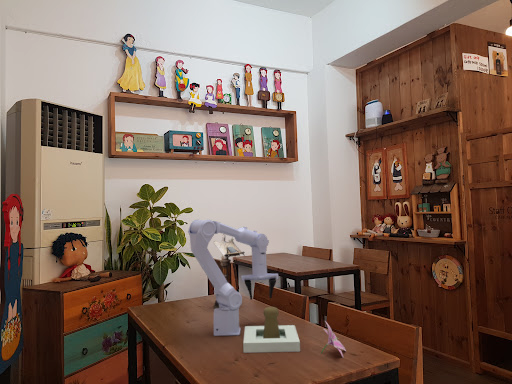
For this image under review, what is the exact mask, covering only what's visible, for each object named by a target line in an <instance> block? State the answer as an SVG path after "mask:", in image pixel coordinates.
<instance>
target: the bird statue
mask: <svg viewBox="0 0 512 384" xmlns="http://www.w3.org/2000/svg"><path fill="white" fill-rule="evenodd" d="M212 244H213V245H214V246H215V247H216V248H217V250H218V251H219V252H220V254H221V257H220V258H221V259H219V262H220V266H221V267H222V274H223V275H224V277H225V279H226V280H227V282H228V283H229V267H230V266H231V261H232V260H231V259H230V257H239V256H240V257H241V255H243V256H245V251H241V249H239V247H238V245H236V243H235V242H234V237H232V236H231V239H228V241H226V235H225V234H222V239H221V242H219V241H216V240H214V241H213V242H212ZM216 308H219V303H218V302H217V301H216V300H215V302H214V304H213V309H212V310H214V309H216Z"/></svg>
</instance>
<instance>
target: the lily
mask: <svg viewBox="0 0 512 384" xmlns="http://www.w3.org/2000/svg"><path fill="white" fill-rule="evenodd" d="M324 322H325V323H326V326H327V329H328V330H327V329H325V328H323V331H324V332H325V333H326V334H327V335H328V339H327V343H326V345H325V346H324V347H323V348H322V351H321V352H320V354H323V352H324V350H325V349H326V347H327V346H328V345H330V346H333V347H334V348H336V349H337V350H338V351H339V353H340V354H341V357H342V358H344V354H343V352H342V350H344V351H345V352H347V350H346V348H345V346H344V344H343V343H341V341H340V340H339V339H340V338H339V337H337V336H336V334H335V333H334V332H333V330H332V328H331V326H330V325H329V324H328V322H327V321H326V320H324Z"/></svg>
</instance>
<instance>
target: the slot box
mask: <svg viewBox="0 0 512 384" xmlns="http://www.w3.org/2000/svg"><path fill="white" fill-rule="evenodd" d="M278 327H279V334H280V338H264V339H263V335H264V325H247V326H246V325H245V326H244V332H243V333H244V334H243V343H242V344H243V345H242V346H243V349H242V350H243V353H245V354H246V353H286V352H287V353H288V352H289V353H291V352H293V353H294V352H297V353H298V352H301V342H300V341H301V340H300V339H299V335H298V331H297V328H296V326H295V324H294V325H293V324H292V325H291V324H290V325H289V324H287V325H285V324H284V325H282V324H281V325H278Z"/></svg>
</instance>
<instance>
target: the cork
mask: <svg viewBox="0 0 512 384" xmlns="http://www.w3.org/2000/svg"><path fill="white" fill-rule="evenodd" d="M263 316H264V324H263V326H264V335H263V339H264V338H280V334H279V327H278V326H279V321H278V316H279V308H278V307H276V306H266V307H265V308H264V309H263Z"/></svg>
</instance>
